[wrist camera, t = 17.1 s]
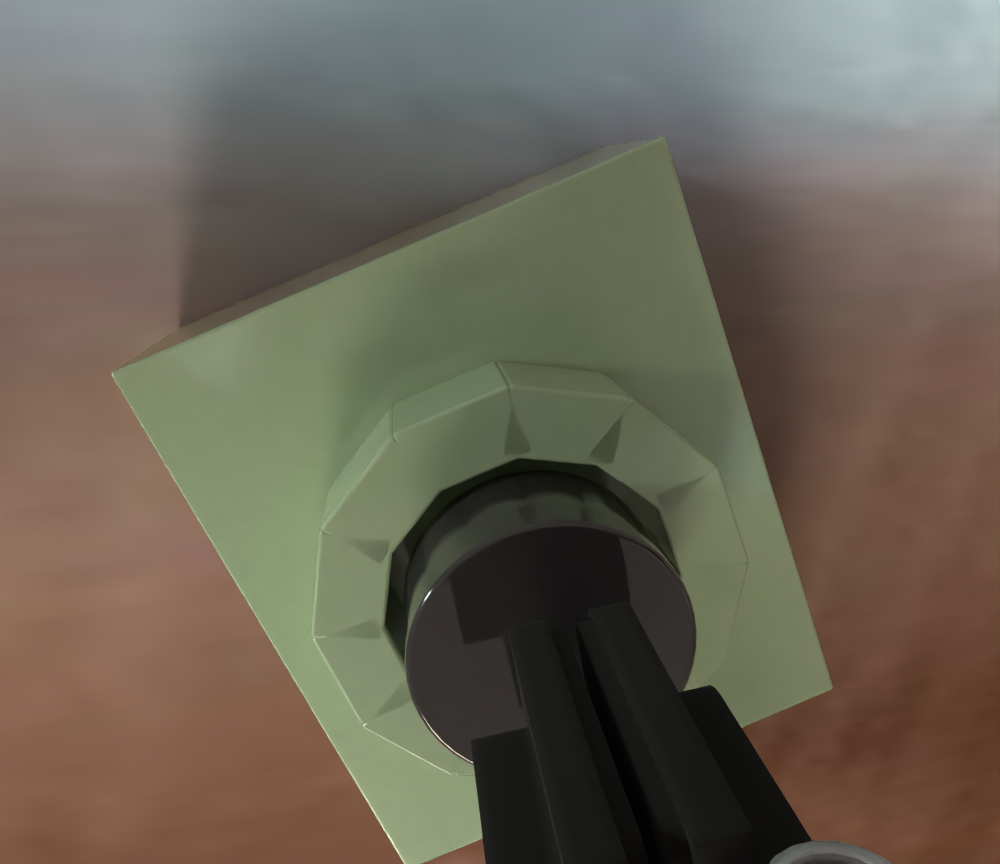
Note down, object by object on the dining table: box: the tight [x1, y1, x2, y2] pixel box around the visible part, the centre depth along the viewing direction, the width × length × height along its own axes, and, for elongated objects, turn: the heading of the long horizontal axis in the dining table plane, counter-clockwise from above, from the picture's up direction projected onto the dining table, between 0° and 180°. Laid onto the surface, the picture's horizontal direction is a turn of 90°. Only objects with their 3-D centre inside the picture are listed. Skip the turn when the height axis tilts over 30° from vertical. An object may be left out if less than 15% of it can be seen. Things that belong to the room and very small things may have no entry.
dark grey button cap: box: [404, 470, 697, 765], centre depth 13 cm, size 4×4×2 cm
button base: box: [112, 137, 833, 864], centre depth 16 cm, size 12×10×6 cm
